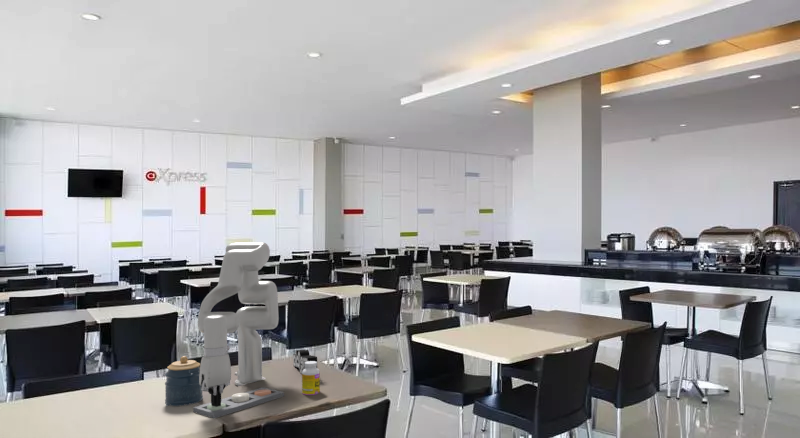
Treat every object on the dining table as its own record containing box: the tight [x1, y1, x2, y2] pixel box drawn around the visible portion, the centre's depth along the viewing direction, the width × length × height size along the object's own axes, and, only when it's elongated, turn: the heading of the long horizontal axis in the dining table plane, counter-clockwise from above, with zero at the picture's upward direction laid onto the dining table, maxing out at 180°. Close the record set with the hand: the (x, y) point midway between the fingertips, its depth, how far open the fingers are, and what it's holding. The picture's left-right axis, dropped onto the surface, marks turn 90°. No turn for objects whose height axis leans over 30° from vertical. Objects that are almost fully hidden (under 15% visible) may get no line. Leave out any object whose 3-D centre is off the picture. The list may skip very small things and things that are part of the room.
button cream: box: [231, 392, 249, 403], centre depth 200 cm, size 6×6×3 cm
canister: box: [164, 355, 204, 407], centre depth 206 cm, size 13×13×18 cm
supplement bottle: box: [301, 361, 321, 396], centre depth 213 cm, size 7×7×13 cm
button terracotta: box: [254, 389, 271, 397], centre depth 208 cm, size 6×6×3 cm
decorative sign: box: [292, 349, 318, 375], centre depth 250 cm, size 32×4×10 cm, turn 22°
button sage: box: [207, 403, 226, 411], centre depth 192 cm, size 6×6×3 cm
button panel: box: [192, 387, 285, 419], centre depth 200 cm, size 30×12×3 cm, turn 143°
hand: (216, 405), depth 192 cm, fingers closed
